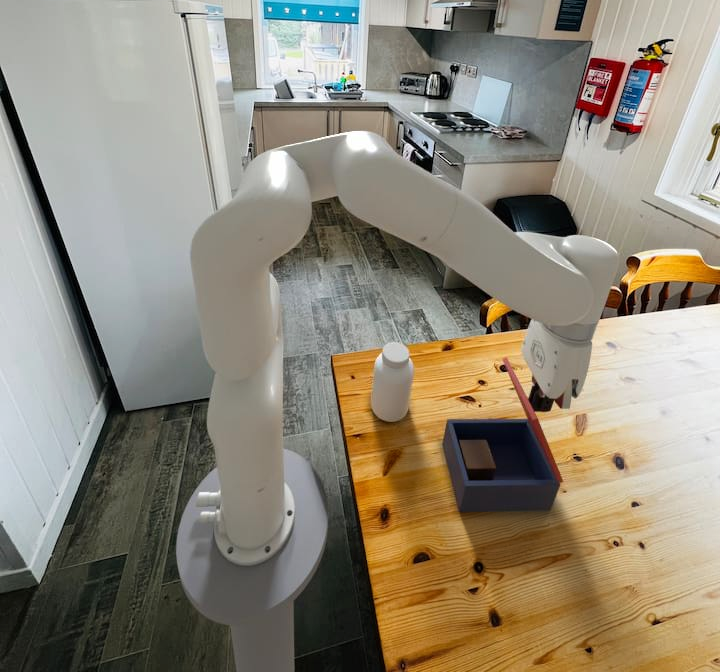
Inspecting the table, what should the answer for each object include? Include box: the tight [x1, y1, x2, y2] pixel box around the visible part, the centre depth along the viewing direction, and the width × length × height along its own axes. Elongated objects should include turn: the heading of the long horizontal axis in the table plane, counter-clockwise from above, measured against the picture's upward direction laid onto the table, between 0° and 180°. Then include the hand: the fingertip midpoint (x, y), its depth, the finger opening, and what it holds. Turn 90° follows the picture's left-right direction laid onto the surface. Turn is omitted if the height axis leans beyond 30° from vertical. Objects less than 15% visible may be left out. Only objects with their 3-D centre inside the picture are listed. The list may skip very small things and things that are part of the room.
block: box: [458, 440, 496, 481], centre depth 69 cm, size 5×5×5 cm
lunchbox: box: [442, 418, 561, 513], centre depth 69 cm, size 16×12×7 cm
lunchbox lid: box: [502, 356, 564, 484], centre depth 65 cm, size 16×12×1 cm
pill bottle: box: [370, 341, 415, 423], centre depth 80 cm, size 8×8×15 cm
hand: (538, 407), depth 64 cm, fingers closed
